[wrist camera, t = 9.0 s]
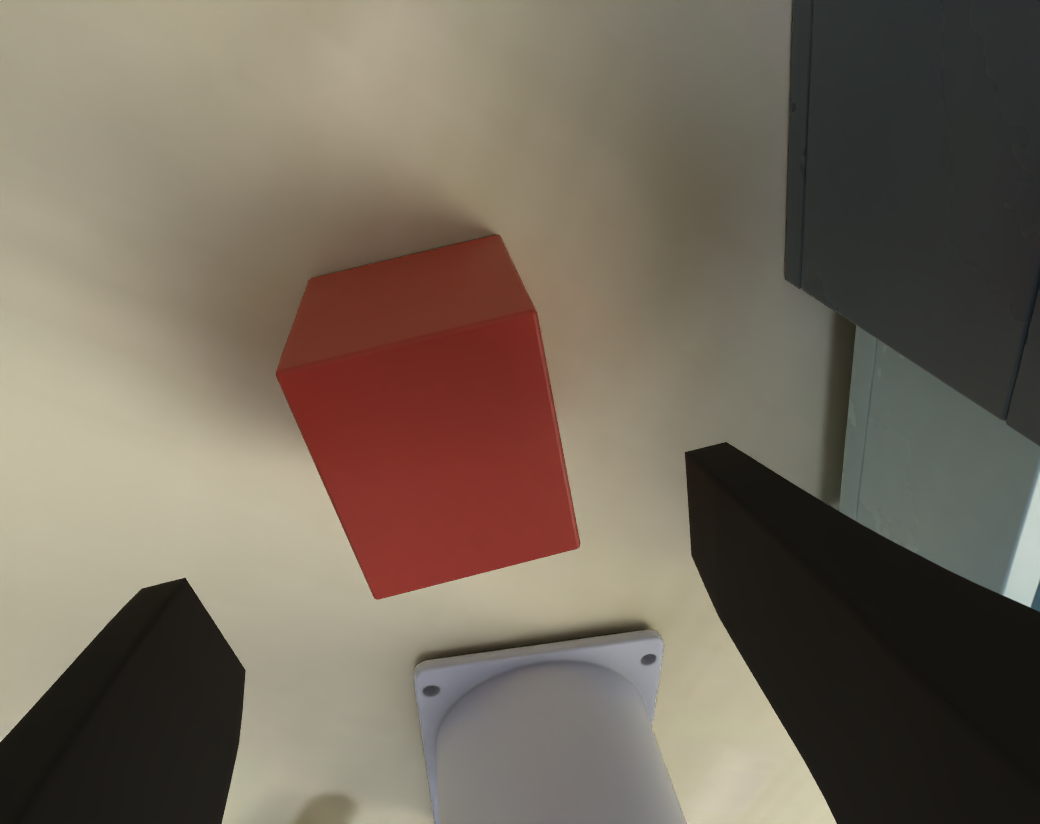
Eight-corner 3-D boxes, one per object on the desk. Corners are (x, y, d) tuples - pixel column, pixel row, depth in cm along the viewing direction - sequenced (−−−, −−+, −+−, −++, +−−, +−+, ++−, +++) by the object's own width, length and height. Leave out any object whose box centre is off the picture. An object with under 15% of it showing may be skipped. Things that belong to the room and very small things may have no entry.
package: (540, 429, 17) (582, 549, 13) (379, 469, 17) (374, 602, 13) (499, 232, 14) (537, 309, 10) (307, 277, 14) (273, 373, 10)
